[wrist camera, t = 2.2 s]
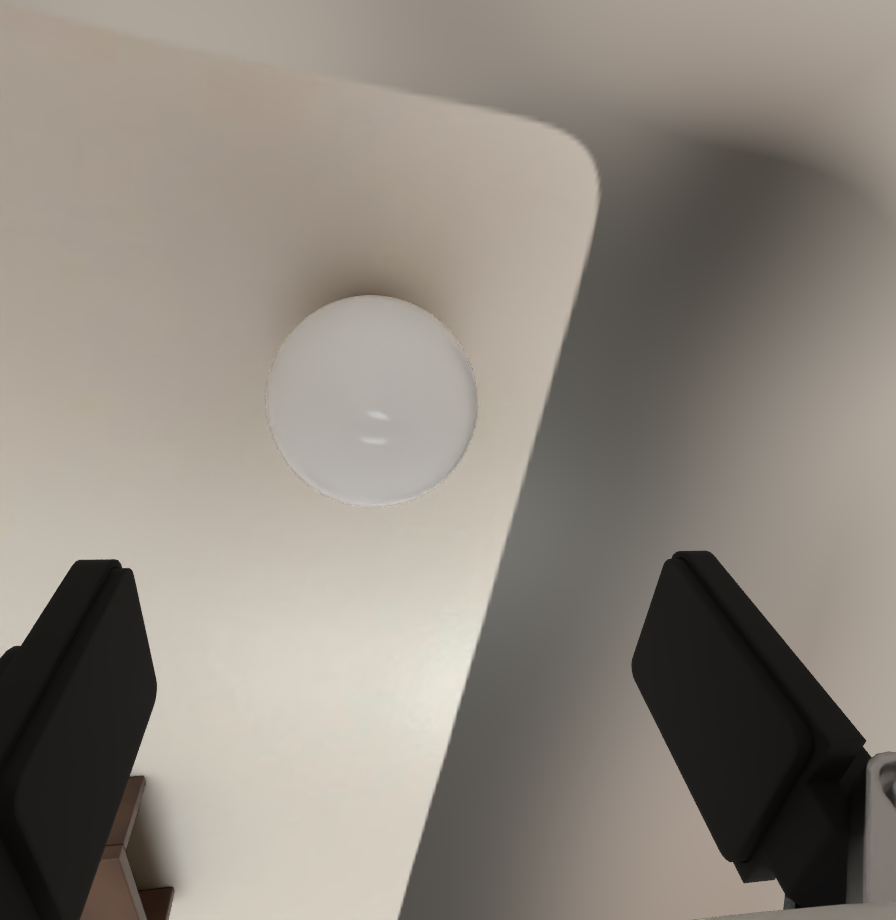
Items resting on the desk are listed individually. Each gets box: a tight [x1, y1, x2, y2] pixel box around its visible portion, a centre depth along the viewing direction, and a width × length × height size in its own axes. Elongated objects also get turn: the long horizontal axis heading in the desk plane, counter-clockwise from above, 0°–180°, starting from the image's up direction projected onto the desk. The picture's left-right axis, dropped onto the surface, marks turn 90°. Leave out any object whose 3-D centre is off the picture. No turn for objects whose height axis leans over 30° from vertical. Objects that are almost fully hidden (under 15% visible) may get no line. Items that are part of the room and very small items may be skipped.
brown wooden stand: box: [80, 776, 174, 920], centre depth 37 cm, size 10×14×5 cm
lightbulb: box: [265, 295, 478, 508], centre depth 20 cm, size 6×6×11 cm
